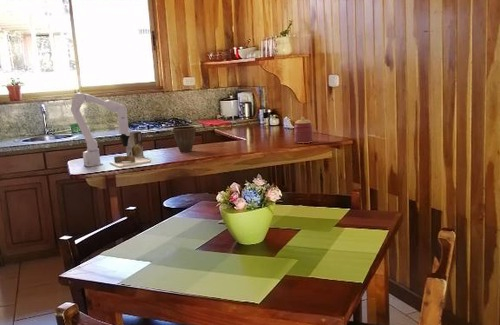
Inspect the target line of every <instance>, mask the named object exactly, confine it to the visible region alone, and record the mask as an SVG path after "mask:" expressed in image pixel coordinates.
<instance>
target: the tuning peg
mask: <svg viewBox="0 0 500 325" xmlns="http://www.w3.org/2000/svg"><path fill="white" fill-rule="evenodd" d="M113 159H114V161H115V162H122V161H124V162H134V161H135V156H127V155H115V156H113Z"/></svg>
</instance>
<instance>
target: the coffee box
mask: <svg viewBox="0 0 500 325" xmlns="http://www.w3.org/2000/svg"><path fill="white" fill-rule="evenodd" d="M125 152H126V156H135V158H140V157H144V154H145V153H144V147H143V137H142V131H139V130H132V131H131V132H130V137H129V139H128V146H125Z"/></svg>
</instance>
